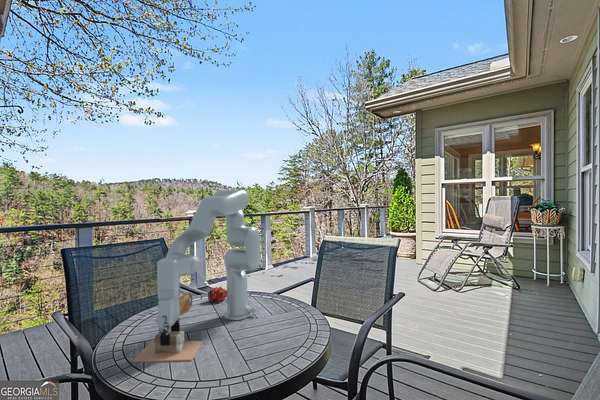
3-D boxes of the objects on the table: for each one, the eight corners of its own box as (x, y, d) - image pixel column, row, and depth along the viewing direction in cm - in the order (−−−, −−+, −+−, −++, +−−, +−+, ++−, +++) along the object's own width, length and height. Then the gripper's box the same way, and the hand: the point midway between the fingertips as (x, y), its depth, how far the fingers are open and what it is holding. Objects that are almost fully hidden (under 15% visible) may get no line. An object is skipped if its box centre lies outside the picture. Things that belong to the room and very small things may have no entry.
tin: (175, 318, 148) (175, 300, 148) (169, 318, 149) (169, 300, 149) (193, 307, 163) (192, 290, 163) (187, 306, 164) (187, 290, 164)
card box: (159, 348, 118) (159, 331, 118) (184, 347, 118) (183, 331, 118) (155, 353, 114) (154, 336, 114) (180, 352, 114) (180, 336, 114)
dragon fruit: (205, 306, 168) (226, 304, 176) (212, 299, 164) (233, 298, 171) (203, 291, 173) (223, 290, 181) (209, 284, 168) (230, 283, 176)
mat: (202, 342, 124) (202, 340, 124) (191, 360, 110) (191, 359, 110) (150, 343, 123) (150, 342, 123) (132, 362, 109) (132, 361, 109)
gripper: (167, 285, 125) (169, 329, 125) (148, 301, 107) (149, 351, 108) (187, 285, 125) (188, 328, 125) (170, 300, 108) (172, 350, 108)
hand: (170, 338), depth 117 cm, fingers open, 9 cm apart
